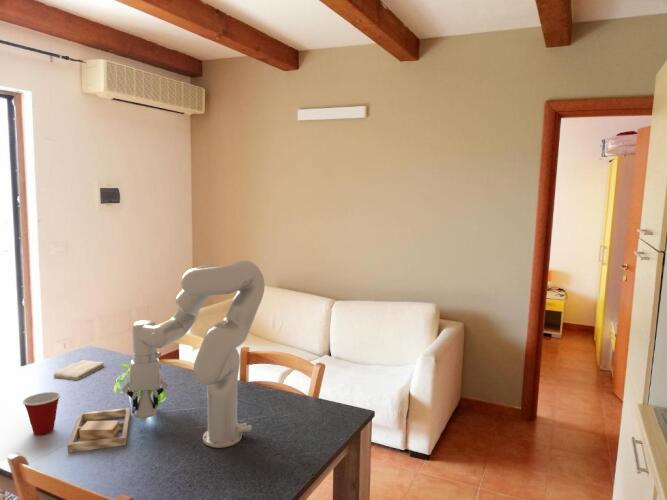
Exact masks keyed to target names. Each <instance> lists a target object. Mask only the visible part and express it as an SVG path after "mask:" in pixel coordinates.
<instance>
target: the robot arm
mask: <svg viewBox="0 0 667 500" xmlns="http://www.w3.org/2000/svg"><path fill="white" fill-rule="evenodd" d="M180 285H181V290H180V291H179V292H178V294H177V295H176V297H175V303H176V305H177V306H178V309H177V310H176V311H175V312H174V314H173V315H172V317H171V318H170V319H168V320H165V321H163V322H161V323H159V324H157V323H156V322H155V321H154V320H151V319H141V320H137V321H135V322H133V324H132V326H131V328H132V331H131V333H132V359H131V361H130V364H129V372H128V375H129V377H128V381H126V383H125V384H124V385H123V386H122V387H121V391H122V392H123V393H125V394H126V395H127V396H128V397H130V398H131V400H132V408H134V412H135V411H136V410H138V402H139V396H138V392H141V391H144V390H150V391H152V392H153V399H152V401H153V407H154V409H155V408H156V409H157V406H158V405H159V396H160V394H162V393H163V392H164V391H165V390H166V389H167V388H168V387H169V383H168V382H167V381H166V380H165V379H164V378H163V377H162V369H161V362H160V358H159V357H162V352H159V351H157V350H158V349H163V348H166V347H168V346H169V345H172V344H173V343H175V342H178V341H179V340H180V339H182V338H183V337H184V336H185V335H186V334H187V333H188V331H189V330H190V329H191V328H192V327H193V325H194V324H195V323H196V321H197V319H198V315H199V312H200V310H201V309H202V307H203V306H204V305H205V304H206V302H207V301H208V300H209V298H210V297H211V296H222V295H224V296H225V295H230V294H234V293H236V294H235V295H234V297H233V299H232V301H231V303H230V305H229V307H228V310H227V313H226V314H225V316H224V317H223V319H222V320H221V321H219V322H216V323H215V324H214V325H213V326H211V327H210V328H209V329H208V330H207V332H206V334H205V335H204V338H203V340H202V342H201V345H200V348H199V350H198V353H197V355H196V358H195V361H194V363H193V367H192V368H193V374H194V378H195V379H196V381H197V382H198V383H199V384H201V385H203V386H207V390H206V392H207V393H206V398H207V401H206V402H207V407H206V408H207V430H206V431H205V432H204V433H203V435H202V442H203V443H204V445H206V446H208V447H211V448H216V449H218V448H220V449H221V448H228V447H231V446H235V445H236V444H238V443H239V442H240V441H241V439H242V438H243V433H246V432H248V433H249V432H252V425H251V424H249V425H247V422H244V423H239V422H238V421H239V420H238V382H239V381H238V380H239V371H240V362H241V361H240V360H241V359H240V353H239V351H238V349H237V348H238V347H240V346H241V345H242V344H244V342H246V340H247V337H248V335H249V332H250V330H251V327H252V324H253V322H254V320H255V317H256V314H257V312H258V309H259V307H260V305H261V303H262V300H263V297H264V293H265V279H264V275H263V273H262V271H261V269H260V268H259V267H258V266H257V264H255V263H254V262H251V261H250V260H249V261H248V260H239V261H235V262H233V263H229V264H227V265H222V266H214V265H212V264H201V265H199V266H195V267H193V268H190V269H188V270H186V271H185V272H184V274H183V275H182V277H181V281H180Z"/></svg>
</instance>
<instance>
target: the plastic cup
mask: <svg viewBox="0 0 667 500" xmlns="http://www.w3.org/2000/svg"><path fill="white" fill-rule="evenodd" d="M60 398H61V393H59V392H57V391H47V392H41V393H37V394H33V395H29V396H28V397H26V398H24V399H23V400H22V404H23V405H24V406H25V409H26V411H27V415H28V420H29V423H30V426H31V429H32V432H33V435H35V436H45V435H47V434H48V435H49V434H50V433H52V432H53V431H54V429H55V422H56V416H57V411H58V404H59V399H60Z"/></svg>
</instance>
